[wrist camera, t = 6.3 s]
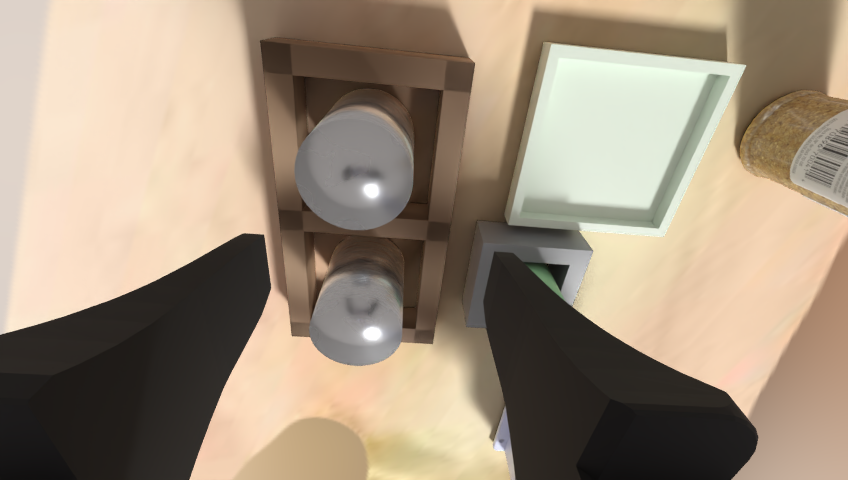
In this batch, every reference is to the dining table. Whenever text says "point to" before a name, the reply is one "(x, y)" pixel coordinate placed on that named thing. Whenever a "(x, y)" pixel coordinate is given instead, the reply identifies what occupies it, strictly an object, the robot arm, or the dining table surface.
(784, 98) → the sprinkles bottle
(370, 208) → the cylinder
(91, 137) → the dining table surface
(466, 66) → the pallet
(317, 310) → the seated billet
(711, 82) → the pale green square tray
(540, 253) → the grey square frame
